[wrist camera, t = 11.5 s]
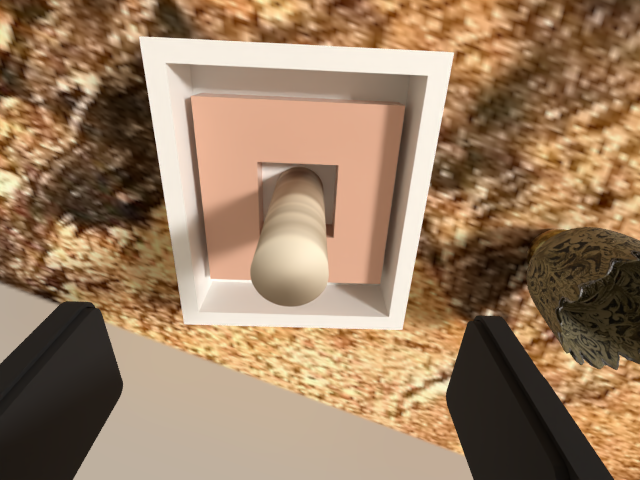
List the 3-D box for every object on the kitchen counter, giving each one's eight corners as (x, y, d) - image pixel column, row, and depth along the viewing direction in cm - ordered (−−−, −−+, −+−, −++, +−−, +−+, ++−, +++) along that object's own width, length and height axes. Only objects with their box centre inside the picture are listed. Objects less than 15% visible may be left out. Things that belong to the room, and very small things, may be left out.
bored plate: (201, 92, 20) (190, 95, 18) (397, 101, 20) (405, 105, 19) (217, 263, 25) (210, 278, 23) (375, 268, 25) (380, 284, 24)
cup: (576, 294, 28) (666, 375, 21) (483, 288, 28) (542, 368, 20) (620, 203, 25) (745, 263, 17) (515, 195, 24) (599, 252, 17)
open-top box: (174, 41, 20) (138, 36, 16) (426, 53, 20) (454, 52, 16) (203, 284, 27) (184, 324, 23) (389, 290, 27) (402, 329, 23)
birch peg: (275, 165, 22) (248, 238, 13) (324, 167, 22) (330, 241, 13) (275, 211, 23) (252, 305, 14) (322, 213, 23) (326, 307, 15)
